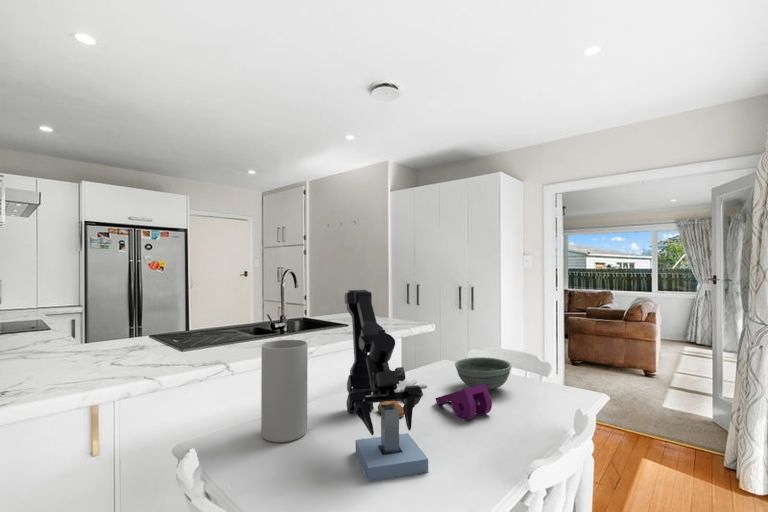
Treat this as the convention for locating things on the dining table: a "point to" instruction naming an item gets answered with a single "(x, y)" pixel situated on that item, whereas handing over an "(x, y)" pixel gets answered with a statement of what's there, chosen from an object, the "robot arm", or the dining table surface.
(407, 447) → the blue square washer
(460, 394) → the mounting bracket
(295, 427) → the cylinder vase
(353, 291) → the robot arm
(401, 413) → the pastry
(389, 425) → the grey tapered peg
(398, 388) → the bunny figurine
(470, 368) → the bowl
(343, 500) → the dining table surface
